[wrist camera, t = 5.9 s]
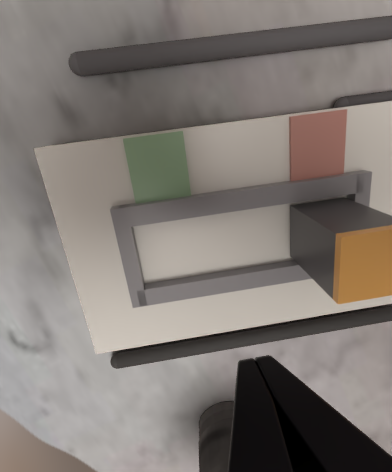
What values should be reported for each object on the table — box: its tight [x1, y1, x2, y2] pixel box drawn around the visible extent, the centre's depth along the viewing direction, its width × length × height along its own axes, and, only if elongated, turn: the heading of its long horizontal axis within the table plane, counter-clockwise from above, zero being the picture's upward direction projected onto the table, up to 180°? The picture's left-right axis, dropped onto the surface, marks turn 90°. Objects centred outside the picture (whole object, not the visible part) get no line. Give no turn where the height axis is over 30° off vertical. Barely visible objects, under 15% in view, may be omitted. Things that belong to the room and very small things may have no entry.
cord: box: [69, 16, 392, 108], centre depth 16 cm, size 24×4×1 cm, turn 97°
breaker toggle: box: [290, 197, 392, 304], centre depth 14 cm, size 3×3×5 cm
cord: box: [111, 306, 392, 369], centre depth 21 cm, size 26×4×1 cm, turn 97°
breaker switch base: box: [33, 101, 392, 354], centre depth 17 cm, size 19×12×3 cm, turn 97°
